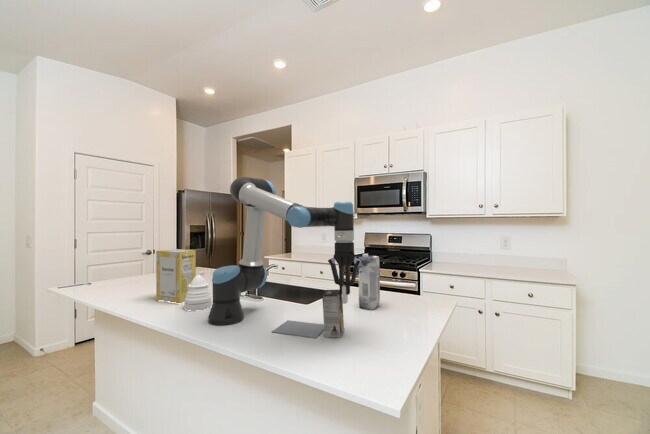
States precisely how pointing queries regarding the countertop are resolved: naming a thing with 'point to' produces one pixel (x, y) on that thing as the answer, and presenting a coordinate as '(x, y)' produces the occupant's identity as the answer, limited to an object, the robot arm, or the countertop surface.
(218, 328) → the countertop surface
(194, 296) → the honey pot
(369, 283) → the juice carton
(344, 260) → the robot arm
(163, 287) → the pasta box
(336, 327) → the coffee box
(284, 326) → the mat
